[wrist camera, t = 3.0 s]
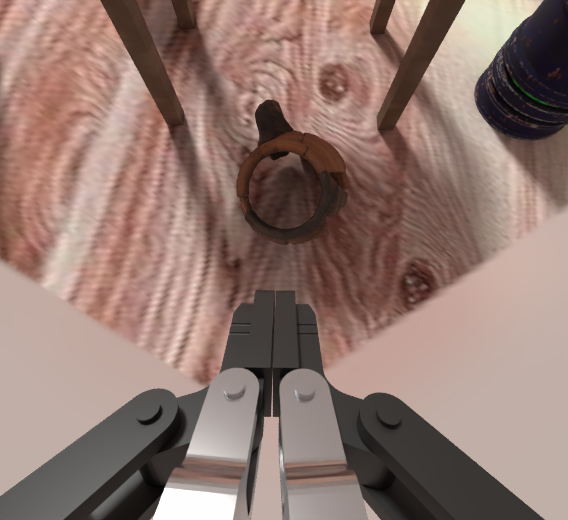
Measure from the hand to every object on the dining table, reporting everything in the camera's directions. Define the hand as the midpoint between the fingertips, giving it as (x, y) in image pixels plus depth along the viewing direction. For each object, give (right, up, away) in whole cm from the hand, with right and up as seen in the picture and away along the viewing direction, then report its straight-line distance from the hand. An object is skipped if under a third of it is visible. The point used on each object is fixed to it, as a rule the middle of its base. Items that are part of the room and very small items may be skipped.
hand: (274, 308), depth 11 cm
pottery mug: (+1, +8, +16) cm, 18 cm away
